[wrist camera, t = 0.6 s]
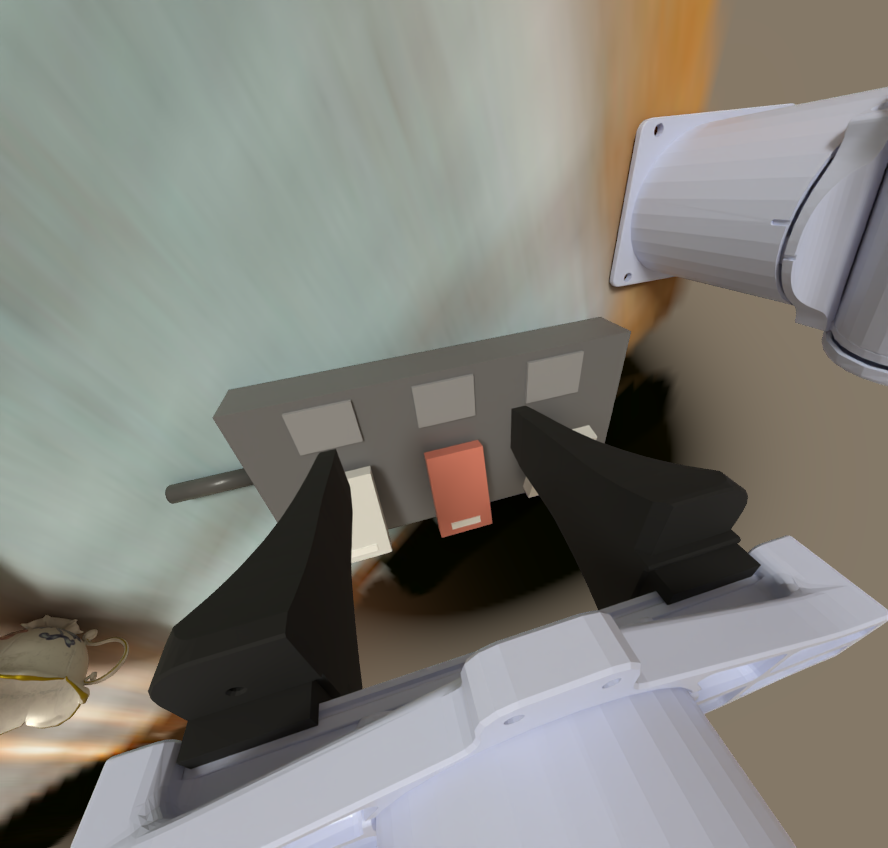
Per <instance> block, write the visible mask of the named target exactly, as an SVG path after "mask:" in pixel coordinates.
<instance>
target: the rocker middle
mask: <svg viewBox="0 0 888 848" xmlns="http://www.w3.org/2000/svg"><path fill="white" fill-rule="evenodd" d="M424 457H425V462H426V467H427V472H428V477H429V482H430V487H431V492H432V496H433V501H434V506H435V511H436V516H437V521H438V526H439V530H440V533H441V536H442V537H446V536H449V535H453V534H457V533H460V532H464V531H467V530H471V529H474V528H478V527H481V526H485V525H489V524H492V517H491V509H490V501H489V493H488V485H487V477H486V469H485V461H484V453H483V446H482V445H481V443H480V442H479V441H478V440H475V441H471V442H466V443H462V444H458V445H454V446H450V447H446V448H442V449H437V450H433V451H429V452H425V453H424Z"/></svg>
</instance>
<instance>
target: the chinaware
mask: <svg viewBox="0 0 888 848" xmlns="http://www.w3.org/2000/svg"><path fill="white" fill-rule="evenodd" d="M76 621H78V620H76V619H75V620H68V619H63V618H54V617H50V616H48V615H45V617H44V618H41V619H38V620H34V621H32V622H30V623H27V624H21V626H23V627H25V628H26V629H24V630H20V631H16V632H13V633H10V634H7V635H5V636H2V637H0V735H1V734H4V733H6V732H8V731H11V730H13V729H16V728H18V727H21V726H22V725H23V724H24V723H25V722H26V726H33V727H36V728H49V727H55V726H59V725H61V724H62V723H63V722H65V721H67V720H68V719H70V718H71V717H72V716H73V715H74V714H75V712H76V711H77V709H78V708H79V707H80V705H81V704H84V703H86V701H87V699H88V697H89V695H90V691H89V689H88V688H87V687H84V685H92V684H97V683H100V682H102V681H104V680H106V679H108V678H109V677H111V676H112V675H113V674H114V673H116V672H117V671H118V670H119V669H120V667H121V666H122V665H123V664H124V662H125V660H126V658H127V656H128V653H129V646H128V643H127V641H126V640H125V639H123V638H120V637H112V638H108V639H105V640H103V641H99V642H91V641H90V640H92V639H94V638H95V637H96V636H97V632H98V630H97V629H92V630H89V631H87V632H86V633H85V634H84V635H83V637H82V640H83V641H82V640H81V639H80V638H79V637H78V636H77V635H75V634H80V633H83V631H81V630H79V626H78V624H77V623H76ZM109 642H119V643H121V644H122V645H123V647H124V654H123V656H122V658H121V660H120V661H119V663H118V664H117V665H116V666H115V667H114V668H113V669H112V670H111V671H109V672H108V673H107V674H105V675H104V676H102V677H100V678H98V679H96V677H97V672H93V673H91V675H89V676H88V677H86V674H87V670H88V664H89V656H88V651H87V648H86V645H89V646H98V645H102V644H105V643H109ZM89 678H90V680H91V681H87V680H88V679H89ZM95 679H96V680H95Z"/></svg>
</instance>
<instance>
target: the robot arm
mask: <svg viewBox="0 0 888 848" xmlns="http://www.w3.org/2000/svg"><path fill="white" fill-rule="evenodd" d="M656 126H657V127H658V131H657V134H656V135H654V130H655V127H656ZM626 274H627V277H626V279H625V280H624V277H625V275H626ZM675 276H676V277H681V278H685V279H689V280H693V281H697V282H701V283H705V284H709V285H713V286H717V287H721V288H726V289H729V290H734V291H738V292H742V293H746V294H750V295H754V296H758V297H762V298H766V299H771V300H774V301H779V302H783V303H787V304H791V305H794V306H795V308H796V319H795V322H796V323H798V324H802V325H805V326H809V327H812V328H816V329H819V330H823V331H824V333H823V337H822V345H823V350H824V351H825V353H826V355H827V356H828V357H829V358H830V359H831V360H832V361H833V362H834V363H835V364H836V365H838V366H840V367H842V368H843V369H844V370H846V371H848V372H850V373H852V374H854V375H856V376H859V377H861V378H863V379H866V380H869V381H872V382H875V383H878V384H881V385H885V386H888V87H885V88H880V89H875V90H870V91H865V92H859V93H854V94H849V95H844V96H839V97H834V98H830V99H824V100H819V101H814V102H809V103H803V104H798V105H795V104H792V103H791V104H781V105H771V106H762V107H753V108H743V109H734V110H724V111H714V112H704V113H694V114H685V115H675V116H666V117H656V118H650V119H646V120H644V121H643V122H642V123H641V124H640V126H639V127H638V130H637V133H636V139H635V144H634V150H633V155H632V161H631V166H630V172H629V177H628V183H627V188H626V194H625V199H624V204H623V210H622V215H621V221H620V226H619V232H618V237H617V243H616V248H615V254H614V259H613V265H612V270H611V276H610V283H611V285H613V286H615V287H620V286H626V285H631V284H637V283H642V282H648V281H653V280H659V279H664V278H669V277H675ZM510 448H511V450H512V452H513V454H514V456H515V458H516V460H517V462H518V464H519V466H520V468H521V470H522V471H523V473H524V474H525V476H526V477H527V479H528V480H529V482H530V483H531V484H532V486H533V487H534V489H535V490H536V492H537V493H538V495H539V496H540V498H541V499H542V501H543V502H544V503H545V505H546V506H547V508H548V509H549V511H550V513H551V514H552V516H553V517H554V519H555V521H556V523H557V525H558V527H559V529H560V530H561V532H562V534H563V536H564V538H565V540H566V542H567V544H568V546H569V548H570V549H571V552H572V554H573V556H574V558H575V560H576V562H577V564H578V566H579V568H580V570H581V572H582V575H583V576H584V579H585V581H586V583H587V585H588V587H589V589H590V592H591V594H592V597H593V599H594V601H595V603H596V606H597V608H598V611H590V612H585V613H580V614H577V615H574V616H571V617H568V618H565V619H562V620H559V621H557V622H554V623H550V624H547V625H544V626H541V627H539V628H535V629H533V630H529V631H526V632H523V633H520V634H517V635H514V636H511V637H509V638H505V639H502V640H499V641H496V642H494V643H492V644H490V645H487V646H485V647H483V648H481V649H479V650H478V651H476V652H472V653H469V654H466V655H464V656H460V657H457V658H454V659H451V660H448V661H446V662H443V663H440V664H437V665H434V666H431V667H428V668H425V669H422V670H419V671H416V672H413V673H410V674H407V675H404V676H401V677H398V678H395V679H392V680H389V681H386V682H383V683H380V684H377V685H374V686H371V687H368V688H365V689H362V680H361V672H360V664H359V655H358V645H357V635H356V626H355V614H354V603H353V590H352V577H351V556H352V522H353V508H352V498H351V489H350V485H349V482H348V480H347V477H346V474H345V472H344V469H343V466H342V464H341V461H340V458H339V456H338V453H337V450H336V449H333V450H329V451H324V452H320V453H319V454H318V455H317V457H316V459H315V461H314V463H313V465H312V467H311V469H310V471H309V473H308V475H307V476H306V478H305V480H304V482H303V484H302V485H301V487H300V489H299V491H298V492H297V494H296V496H295V497H294V499H293V500H292V502H291V504H290V505H289V507H288V508H287V510H286V511H285V513H284V514H283V516H282V517H281V519H280V520H279V521H278V523H277V524H276V526H275V527H274V528H273V530H272V531H271V532H270V533H269V535H268V536H267V537H266V538H265V540H264V541H263V542H262V543H261V544H260V545H259V547H258V548H257V549H256V550H255V551H254V552H253V553H252V554H251V555H250V557H249V558H248V559H247V560H246V561H245V562H244V563H243V564H242V565H241V566H240V567H239V568H238V569H237V570H236V571H235V572H234V573H233V574H232V575H231V576H230V578H228V579H227V580H226V581H225V582H224V583H223V584H222V585H221V586H220V587H219V588H218V589H217V590H216V591H215V592H214V593H213V594H211V595H210V596H209V597H208V598H207V599H206V600H205V601H204V602H202V603H201V604H200V605H199V606H198V607H197V608H195V609H194V610H193V611H192V612H191V613H190V614H188V615H187V616H186V617H185V618H184V619H183V620H181V621H180V622H179V623H178V624H176V625H175V626H174V627H173V629H172V631H171V634H170V636H169V638H168V640H167V642H166V645H165V647H164V650H163V653H162V655H161V658H160V661H159V663H158V666H157V669H156V671H155V674H154V677H153V679H152V682H151V684H150V687H149V690H148V692H149V695H150V698H151V699H152V701H153V702H155V703H156V704H157V705H159V706H160V707H162V708H164V709H166V710H168V711H170V712H172V713H174V714H176V715H177V716H179V717H181V718H183V719H185V720H187V721H188V723H187V726H186V730H185V733H184V736H183V740H182V741H179V740H164V741H159V742H156V743H152V744H149V745H146V746H143V747H140V748H137V749H134V750H131V751H128V752H125V753H122V754H119V755H116V756H113V757H111V758H110V759H109V760H107V761H106V763H105V765H104V768H103V770H102V772H101V775H100V777H99V780H98V782H97V784H96V787H95V789H94V792H93V794H92V796H91V799H90V801H89V804H88V806H87V808H86V811H85V813H84V816H83V818H82V820H81V823H80V825H79V828H78V830H77V833H76V835H75V837H74V840H73V842H72V845H71V847H70V848H797V847H796V846H795V844H794V843H793V841H792V840H791V838H790V837H789V836H788V834H787V833H786V831H785V830H784V828H783V827H782V825H781V824H780V823H779V821H778V820H777V818H776V817H775V815H774V814H773V812H772V811H771V810H770V808H769V807H768V805H767V804H766V802H765V801H764V800H763V798H762V797H761V795H760V794H759V792H758V791H757V790H756V788H755V787H754V785H753V784H752V782H751V781H750V779H749V778H748V777H747V775H746V774H745V772H744V771H743V770H742V768H741V766H740V765H739V764H738V762H737V761H736V759H735V758H734V756H733V755H732V754H731V752H730V751H729V749H728V748H727V746H726V745H725V744H724V742H723V741H722V739H721V738H720V736H719V735H718V734H717V732H716V731H715V729H714V728H713V726H712V725H711V724H710V722H709V721H708V719H707V718H706V716H705V715H704V714H706V713H708V712H710V711H713V710H715V709H717V708H719V707H721V706H724V705H725V704H728V703H730V702H732V701H734V700H737V699H738V698H741V697H743V696H745V695H747V694H749V693H752V692H754V691H756V690H758V689H760V688H763V687H765V686H767V685H769V684H772V683H774V682H776V681H778V680H780V679H782V678H784V677H787V676H789V675H792V674H794V673H796V672H799V671H801V670H803V669H806V668H808V667H810V666H813V665H815V664H818V663H820V662H823V661H825V660H827V659H829V658H832V657H835V656H836V655H838V654H839V653H841V652H842V651H844V650H845V649H847V648H848V647H850V646H851V645H853V644H854V643H856V642H857V641H859V640H860V639H862V638H863V637H865V636H866V635H868V634H869V633H871V632H872V631H874V630H875V629H877V628H878V627H880V626H881V625H883V624H884V623H886V622H887V621H888V610H887V609H886V608H885V607H883V606H882V605H881V604H880V603H878V602H877V601H876V600H874V599H873V598H872V597H870V596H869V595H868V594H866V593H865V592H864V591H862V590H861V589H860V588H858V587H857V586H856V585H855V584H853V583H852V582H851V581H849V580H848V579H847V578H845V577H844V576H843V575H841V574H840V573H839V572H837V571H836V570H835V569H834V568H832V567H831V566H830V565H828V564H827V563H826V562H824V561H823V560H822V559H820V558H819V557H818V556H816V555H815V554H814V553H812V552H811V551H810V550H808V549H807V548H806V547H805V546H803V545H802V544H801V543H799V542H798V541H797V540H795V539H794V538H793V537H792V536H783V537H780V538H777V539H774V540H771V541H768V542H765V543H762V544H759V545H757V546H755V547H754V548H752V549H751V550H750V551H749V552H748V553H747V552H746V551H745V550H744V549H743V548H741V547H740V546H739V545H738V544H737V543H739V542H740V541H741V539H740V537H739V536H738V535H737V534H736V533H734V532H733V531H732V530H731V528H732V527H733V525H734V524H735V522H736V521H737V519H738V518H739V516H740V515H741V513H742V512H743V510H744V508H745V506H746V504H747V499H748V495H747V493H746V490H745V489H743V488H742V487H741V486H739V485H738V484H737V483H735V482H734V481H732V480H731V479H730V478H728V477H727V476H726V475H725V474H723V473H722V472H720V471H716V470H709V469H703V468H696V467H690V466H684V465H679V464H674V463H670V462H665V461H660V460H656V459H652V458H648V457H644V456H641V455H637V454H634V453H631V452H627V451H624V450H621V449H618V448H615V447H613V446H610V445H607V444H604V443H602V442H599V441H597V440H594V439H592V438H590V437H587V436H585V435H583V434H581V433H578V432H576V431H574V430H572V429H570V428H568V427H566V426H564V425H562V424H560V423H558V422H556V421H554V420H552V419H551V418H549V417H547V416H545V415H543V414H541V413H539V412H538V411H536V410H534V409H532V408H530V407H528V406H526V405H525V406H521V407H517V408H512V409H511V445H510Z"/></svg>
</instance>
